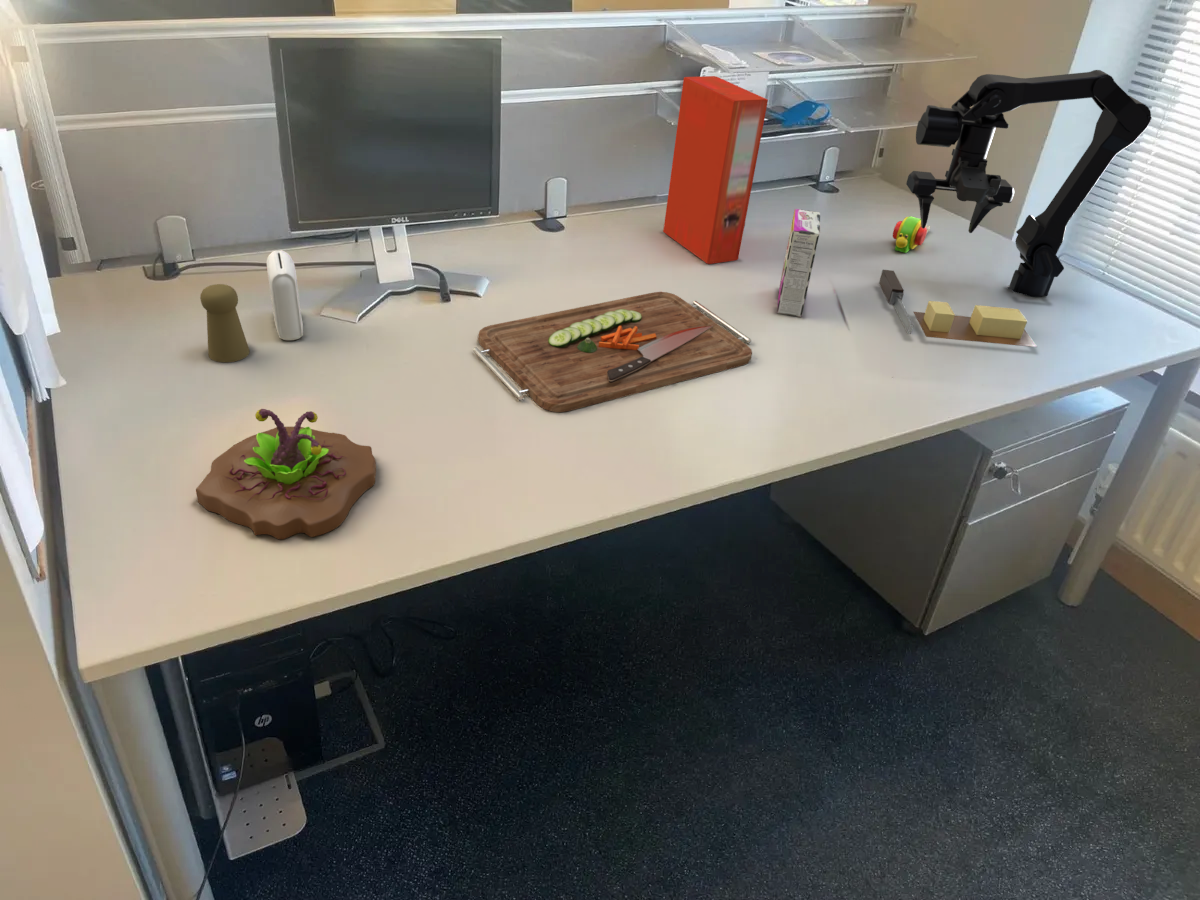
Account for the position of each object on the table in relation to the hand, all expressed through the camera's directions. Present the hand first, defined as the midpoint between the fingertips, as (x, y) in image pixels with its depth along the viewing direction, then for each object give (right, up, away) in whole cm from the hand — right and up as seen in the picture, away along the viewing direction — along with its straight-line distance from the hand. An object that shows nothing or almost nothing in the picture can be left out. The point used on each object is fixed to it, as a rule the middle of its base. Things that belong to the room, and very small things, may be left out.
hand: (946, 230), depth 175 cm
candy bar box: (-32, -15, -4) cm, 35 cm away
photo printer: (-119, -23, -27) cm, 124 cm away
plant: (-107, -47, -60) cm, 131 cm away
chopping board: (-65, -26, -24) cm, 74 cm away
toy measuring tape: (+2, +4, +27) cm, 27 cm away
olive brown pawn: (-125, -28, -35) cm, 133 cm away
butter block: (+5, -21, -10) cm, 24 cm away
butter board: (+1, -21, -9) cm, 24 cm away
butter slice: (-6, -20, -10) cm, 23 cm away
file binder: (-46, 0, +15) cm, 49 cm away
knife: (-11, -17, -4) cm, 21 cm away
